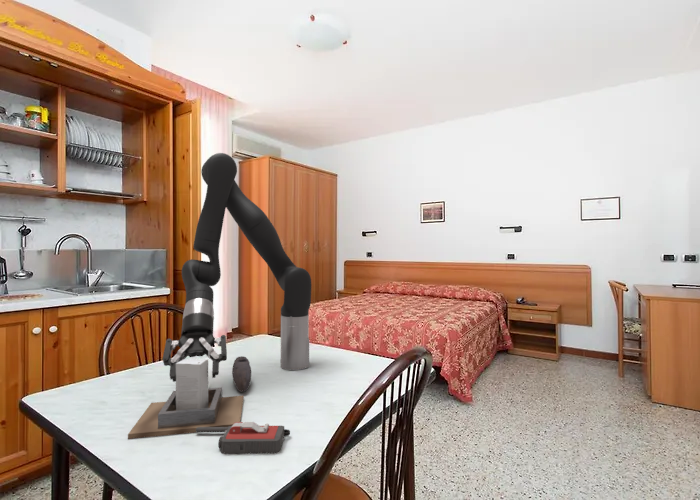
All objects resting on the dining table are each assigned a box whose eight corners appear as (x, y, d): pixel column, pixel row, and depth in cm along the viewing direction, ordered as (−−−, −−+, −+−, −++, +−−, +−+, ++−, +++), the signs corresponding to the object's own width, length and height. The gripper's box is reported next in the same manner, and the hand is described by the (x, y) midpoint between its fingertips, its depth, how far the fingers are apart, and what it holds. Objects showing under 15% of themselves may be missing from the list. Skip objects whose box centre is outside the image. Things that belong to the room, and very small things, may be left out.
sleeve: (221, 399, 94) (221, 387, 94) (214, 423, 81) (214, 409, 81) (173, 403, 92) (173, 390, 92) (157, 428, 79) (158, 414, 79)
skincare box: (208, 408, 88) (209, 358, 88) (200, 416, 84) (200, 364, 84) (184, 407, 89) (184, 357, 89) (174, 415, 85) (175, 363, 85)
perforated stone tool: (252, 395, 100) (252, 369, 100) (232, 397, 98) (232, 371, 98) (250, 377, 114) (250, 354, 114) (232, 378, 112) (232, 355, 112)
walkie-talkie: (291, 433, 80) (197, 433, 79) (291, 412, 80) (198, 412, 79) (285, 455, 71) (180, 456, 71) (285, 432, 71) (180, 432, 71)
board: (243, 399, 97) (243, 395, 97) (239, 428, 81) (239, 423, 81) (151, 406, 92) (151, 402, 92) (127, 438, 76) (128, 434, 76)
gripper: (166, 312, 92) (158, 373, 82) (226, 310, 97) (226, 367, 86) (169, 329, 97) (162, 389, 87) (227, 326, 102) (226, 382, 91)
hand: (194, 378), depth 86 cm, fingers open, 8 cm apart
